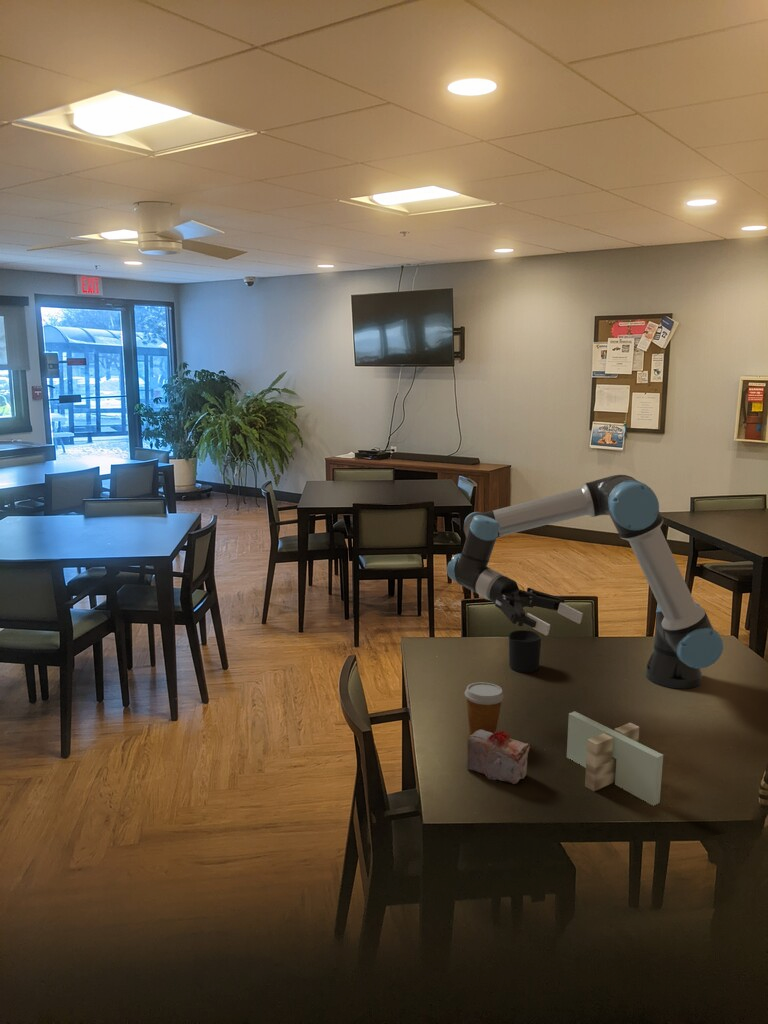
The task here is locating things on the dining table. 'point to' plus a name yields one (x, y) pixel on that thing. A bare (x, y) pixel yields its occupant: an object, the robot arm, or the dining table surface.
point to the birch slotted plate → (604, 757)
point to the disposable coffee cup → (483, 706)
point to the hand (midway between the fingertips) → (565, 624)
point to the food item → (497, 756)
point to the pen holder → (524, 651)
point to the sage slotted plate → (619, 758)
